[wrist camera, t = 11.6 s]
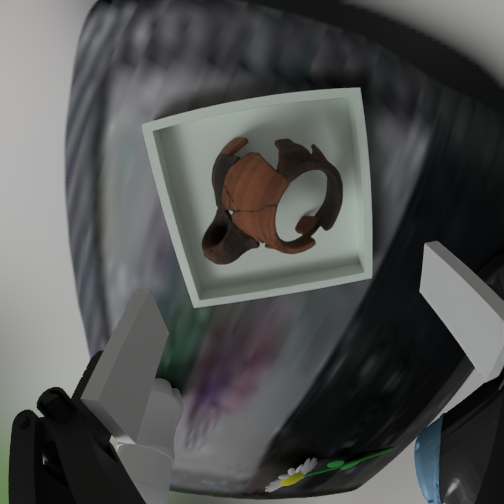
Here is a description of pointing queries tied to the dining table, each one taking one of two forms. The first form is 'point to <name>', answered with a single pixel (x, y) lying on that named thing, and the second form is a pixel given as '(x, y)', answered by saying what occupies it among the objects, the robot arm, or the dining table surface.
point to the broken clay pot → (264, 200)
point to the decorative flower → (304, 470)
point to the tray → (291, 203)
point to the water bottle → (154, 444)
